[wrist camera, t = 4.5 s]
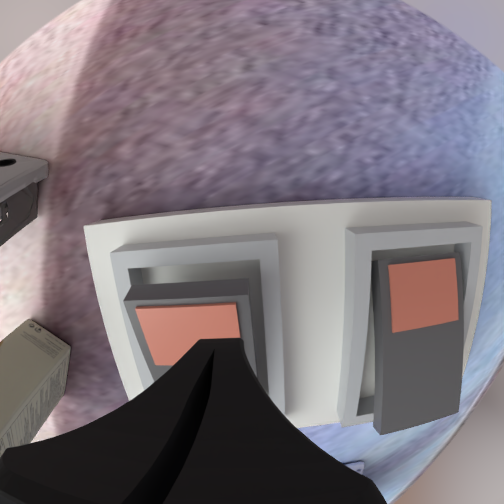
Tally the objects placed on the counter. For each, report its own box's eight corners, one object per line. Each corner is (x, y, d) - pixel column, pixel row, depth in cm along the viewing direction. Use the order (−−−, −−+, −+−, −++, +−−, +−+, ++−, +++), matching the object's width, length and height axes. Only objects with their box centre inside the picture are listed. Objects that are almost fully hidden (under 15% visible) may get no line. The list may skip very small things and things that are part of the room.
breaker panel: (445, 379, 19) (466, 405, 16) (147, 410, 20) (134, 443, 16) (472, 196, 16) (508, 203, 13) (100, 220, 17) (68, 231, 13)
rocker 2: (448, 405, 14) (459, 412, 12) (373, 426, 14) (381, 436, 13) (447, 254, 15) (461, 251, 13) (369, 261, 15) (379, 259, 14)
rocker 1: (261, 408, 16) (262, 427, 15) (177, 410, 17) (174, 427, 15) (248, 277, 13) (248, 297, 11) (132, 285, 13) (122, 302, 11)
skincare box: (28, 315, 18) (-79, 405, 6) (73, 345, 19) (-24, 461, 7) (24, 371, 20) (-53, 459, 8) (64, 398, 20) (-5, 501, 8)
